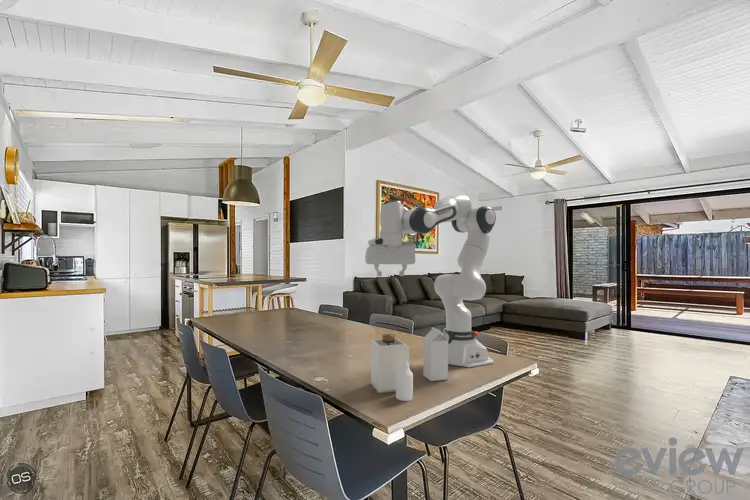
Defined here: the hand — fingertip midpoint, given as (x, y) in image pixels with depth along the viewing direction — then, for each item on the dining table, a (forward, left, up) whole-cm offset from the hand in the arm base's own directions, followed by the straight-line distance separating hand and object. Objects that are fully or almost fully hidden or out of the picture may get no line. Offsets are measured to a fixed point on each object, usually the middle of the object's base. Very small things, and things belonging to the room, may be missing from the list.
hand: (390, 275), depth 149 cm
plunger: (+5, +13, -36) cm, 39 cm away
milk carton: (-16, +8, -39) cm, 43 cm away
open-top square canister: (+4, +13, -39) cm, 41 cm away
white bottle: (+3, +24, -39) cm, 46 cm away
